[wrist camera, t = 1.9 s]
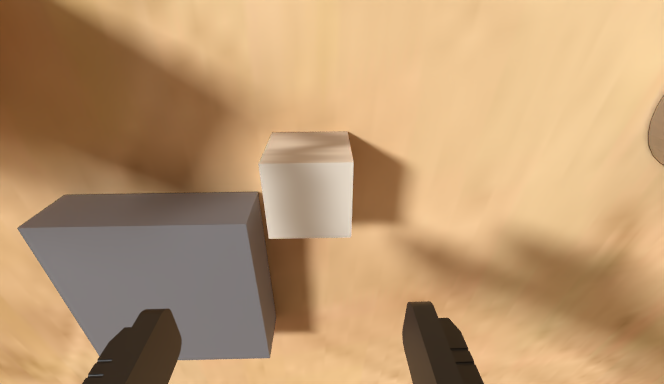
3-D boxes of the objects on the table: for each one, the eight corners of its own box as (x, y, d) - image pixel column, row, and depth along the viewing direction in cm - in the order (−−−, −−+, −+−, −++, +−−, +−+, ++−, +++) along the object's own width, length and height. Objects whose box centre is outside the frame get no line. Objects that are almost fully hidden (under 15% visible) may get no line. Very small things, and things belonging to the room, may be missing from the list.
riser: (257, 191, 23) (245, 224, 19) (276, 317, 30) (269, 358, 26) (64, 194, 22) (17, 228, 19) (129, 321, 29) (103, 362, 26)
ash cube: (347, 130, 21) (353, 162, 16) (346, 195, 23) (351, 237, 19) (272, 131, 21) (258, 163, 16) (279, 196, 23) (268, 238, 19)
